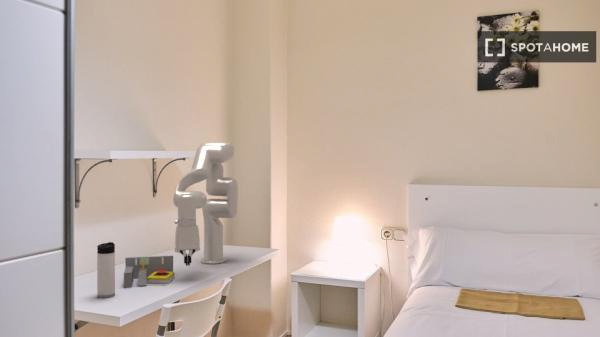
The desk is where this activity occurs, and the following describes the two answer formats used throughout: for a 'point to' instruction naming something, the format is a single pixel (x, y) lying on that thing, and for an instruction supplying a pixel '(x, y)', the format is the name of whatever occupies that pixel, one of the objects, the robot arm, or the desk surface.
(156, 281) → the emergency button
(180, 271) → the desk surface
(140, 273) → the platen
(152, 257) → the frame
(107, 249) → the travel mug
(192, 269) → the desk surface
